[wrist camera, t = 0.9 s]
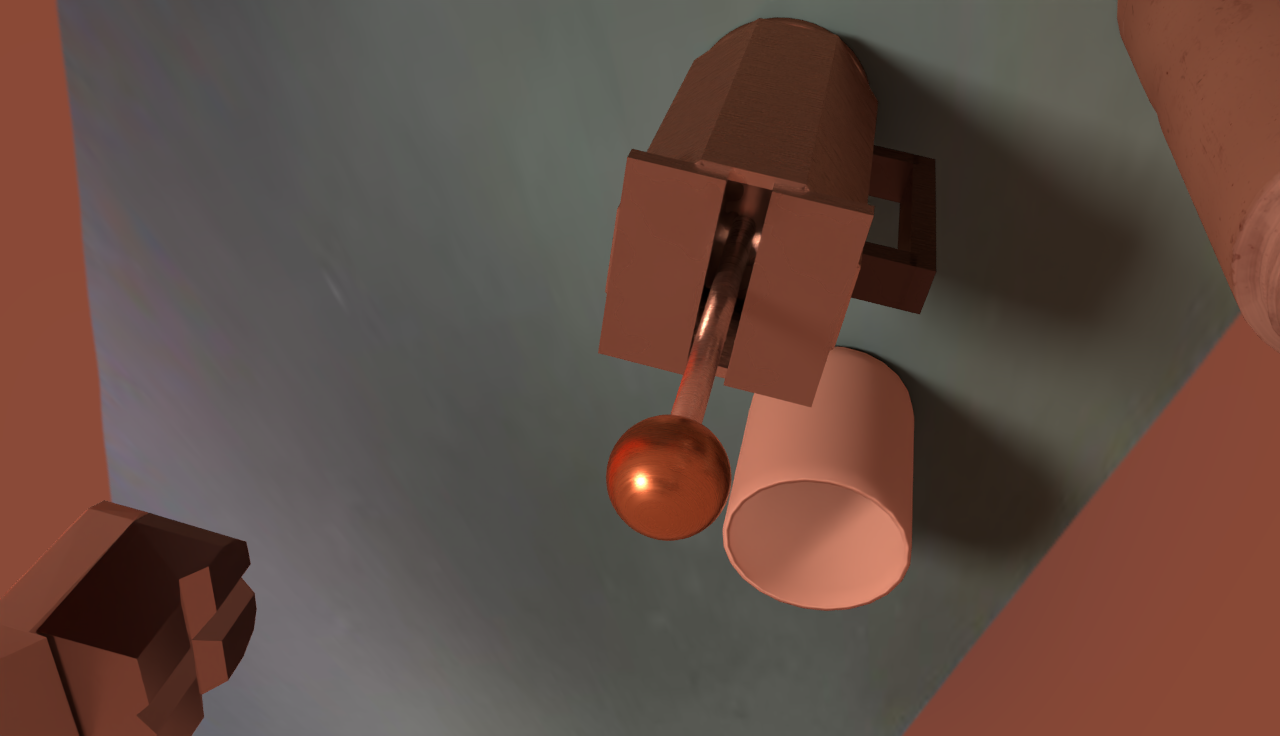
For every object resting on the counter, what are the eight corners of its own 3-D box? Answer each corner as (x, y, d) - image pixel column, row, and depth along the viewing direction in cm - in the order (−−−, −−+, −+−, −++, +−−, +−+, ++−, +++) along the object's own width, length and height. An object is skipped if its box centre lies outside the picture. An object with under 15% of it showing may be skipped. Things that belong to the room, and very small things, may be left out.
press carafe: (707, -1, 49) (622, 150, 35) (959, 54, 48) (970, 232, 34) (676, 168, 54) (592, 355, 41) (901, 222, 53) (891, 432, 40)
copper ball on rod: (679, 123, 40) (547, 396, 26) (850, 163, 40) (807, 463, 26) (652, 268, 44) (527, 569, 31) (807, 307, 44) (750, 631, 30)
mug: (944, 377, 58) (946, 521, 49) (854, 512, 66) (842, 659, 57) (788, 316, 58) (761, 449, 49) (716, 458, 66) (682, 597, 56)
